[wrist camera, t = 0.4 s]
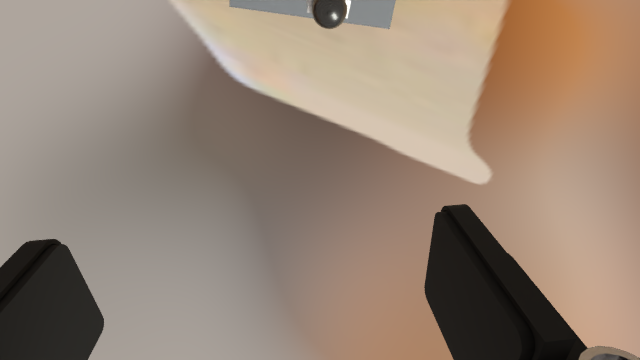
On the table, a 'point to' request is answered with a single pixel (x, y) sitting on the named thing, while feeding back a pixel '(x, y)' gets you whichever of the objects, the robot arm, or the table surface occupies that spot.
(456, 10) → the table surface
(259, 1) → the switch panel
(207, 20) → the table surface
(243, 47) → the table surface
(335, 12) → the toggle lever
